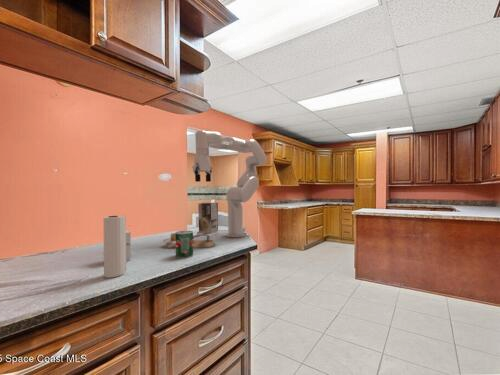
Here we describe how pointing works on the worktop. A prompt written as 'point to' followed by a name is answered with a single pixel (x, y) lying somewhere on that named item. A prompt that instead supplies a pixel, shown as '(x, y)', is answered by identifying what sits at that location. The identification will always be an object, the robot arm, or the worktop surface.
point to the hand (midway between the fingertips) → (203, 181)
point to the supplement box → (128, 246)
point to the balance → (196, 243)
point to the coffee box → (208, 217)
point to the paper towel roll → (114, 246)
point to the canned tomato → (184, 244)
